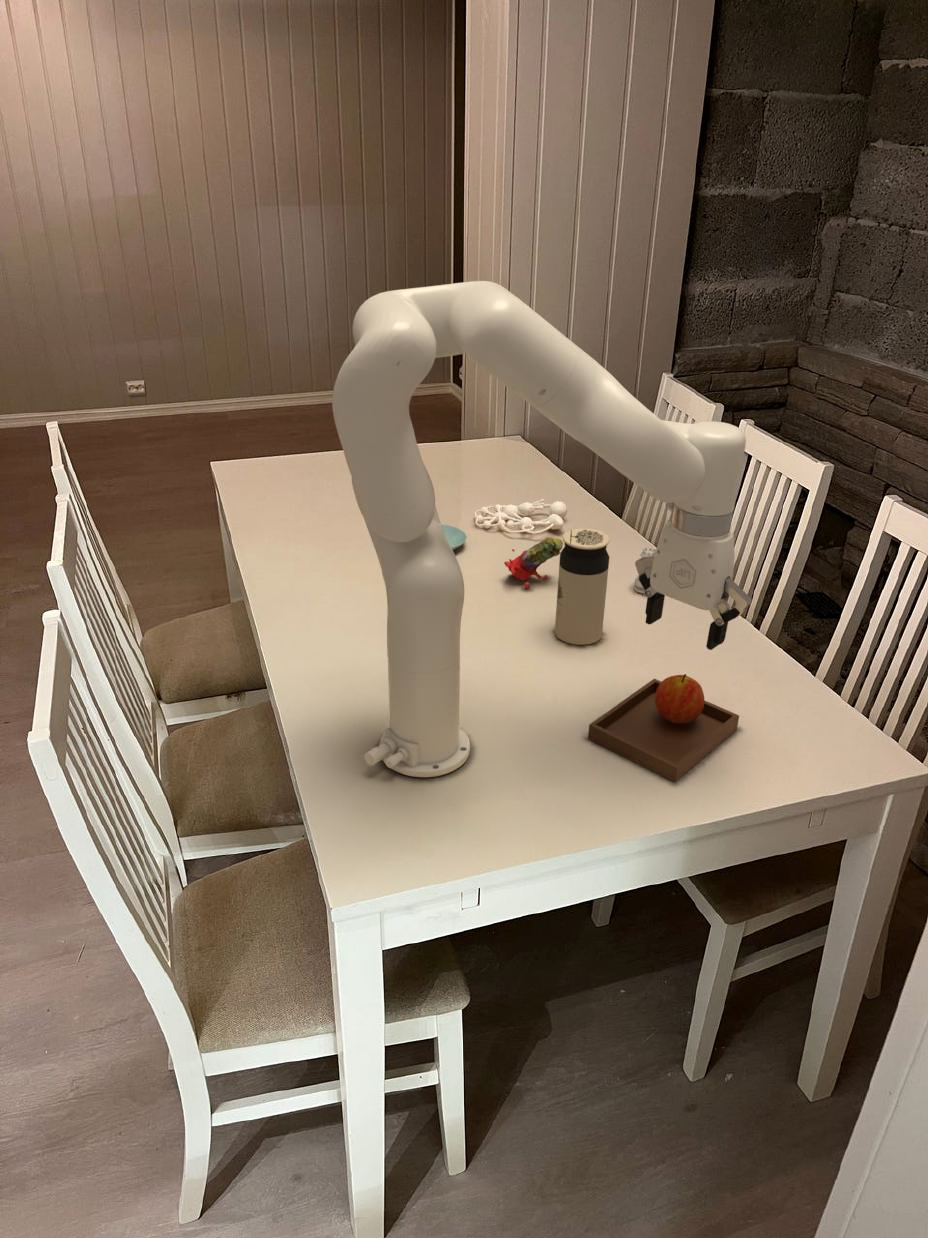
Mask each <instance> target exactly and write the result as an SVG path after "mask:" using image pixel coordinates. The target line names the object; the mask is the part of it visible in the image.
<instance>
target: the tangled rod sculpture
mask: <svg viewBox="0 0 928 1238" xmlns="http://www.w3.org/2000/svg"><path fill="white" fill-rule="evenodd" d="M544 501H545V500H544V498H541V499H539V500H537V501H534V502H528V501H526V502H523V503H520V504H519V505H515V504H507V505H506V504H505V505H504V504H499V503H497V504H495V505H489V506H483V507H481V508H480V509H477V510H475V511H474V512H473V515H474V519H475V523H474V524H475V525H476V526H478V527H483V528H484V529H486V530H489V529H490V528H491V527H492V528H493V527H498V528H500V529H501V528H502V529H503V530H504V531H505V532H507V533H509V534H520V533H528V534H533V535H534V534H535V535H538V534H541V533H545V532H546V531H548V530H553V531H554V530H558V529H562V528H564V526H565V522H564V520H563V518H565V517H566V515H567V514H568V507H567V505H566V504H565V503H564V502H563V501H560V500H557V501H554V502H552V503H545V502H544ZM546 508H549V516H548V517H547V518H543V519H540V520H535V521H533V519H532V518H530V517H529V515H531V514H533V513H534V511H537V510H541V511H543V510H544V509H546ZM489 509H494V511H495V513H493V512H492V511H489ZM479 512H480V514H478V513H479ZM477 514H478V515H477ZM519 514H520V515H523V516H524V517H521V516H520V515H519ZM486 515H489V516H486ZM506 521H507V522H506ZM493 522H497V523H494V524H493ZM515 526H518V527H519V530H510V529H513V528H514V527H515ZM535 526H546V527H545V528H543V529H540V530H537V531H536V530H535V531H533V530H534V529H535ZM506 527H507V528H506Z"/></svg>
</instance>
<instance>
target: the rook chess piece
mask: <svg viewBox="0 0 928 1238" xmlns="http://www.w3.org/2000/svg"><path fill="white" fill-rule="evenodd" d="M655 553H656V548H653V549H652V547H649V548H647V547H645V548H644V549H642V551H641V552H640V554H639V556H640V557H641V558H644V557H650V556H655ZM649 569H650V573H651V571H652V567H649ZM632 588H633V590H634V591H635V592H636V593H638V594H640V595H645V594H644V591H645V589H644V588H643V586H642V584H641V583H640V581H639V574H637V576H636V577H635V579H634V583H633V586H632Z"/></svg>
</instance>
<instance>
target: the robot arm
mask: <svg viewBox="0 0 928 1238" xmlns="http://www.w3.org/2000/svg"><path fill="white" fill-rule="evenodd" d="M352 338H353V342H354V345H355V346H354V347H353V349H352V350H351V352H350V353H349V354H348V355H347V357H346V358H345V360H344V362H343V363H342V365H341V367H340V369H339V371H338V374H337V376H336V379H335V382H334V385H333V391H332V400H331V401H332V402H331V404H332V415H333V421H334V425H335V428H336V431H337V435H338V439H339V441H340V445H341V448H342V451H343V454H344V457H345V461H346V465H347V467H348V470H349V474H350V476H351V485H352V489H353V493H354V497H355V500H356V504H357V506H358V510H359V511H360V513H361V516H362V517H363V520H364V522H365V525H366V528H367V532H368V534H369V537H370V539H371V542H372V545H373V547H374V550H375V554H376V556H377V559H378V563H379V566H380V569H381V574H382V578H383V582H384V586H385V592H386V605H387V613H386V615H387V616H386V654H387V675H388V677H387V678H388V679H387V681H388V708H389V709H388V710H389V727H388V728H386V729H384V733H383V735H381V737H380V740H379V745H378V746H375V747H373V748H371V749H369V750H368V751H366V752H365V753H364V754H363V759H364V761H365V763H366V764H367V765H369V767H370V766H371V767H372V766H374V765H376V764H377V763H379V762H380V761H383V763H384V764H385V766H386V767H387V768H389V769H391V770H392V771H394V772H397V773H398V774H402V775H405V776H408V777H413V778H414V777H415V778H433V777H440V776H443V775H446V774H450V773H451V772H453V771H456V770H457V769H458V768H460V767H461V766H463V764H465V763H466V761H467V760H468V758H469V756H470V753H471V741H470V738H469V736H468V734H467V733H466V731H465V730H464V729H463V728H462V727H460V689H461V687H460V684H461V681H460V680H461V626H462V617H463V616H462V615H463V610H464V609H463V608H464V602H465V581H464V577H463V572H462V568H461V566H460V564H459V561H458V559H457V556H456V554H455V552H454V550H452V548H451V546H450V544H449V542H448V540H447V538H446V535H445V533H444V530H443V528H442V525H443V524H442V522H441V518H440V516H439V512H438V510H437V506H436V494H435V487H434V485H433V481H432V478H431V476H430V474H429V472H428V469H427V467H426V465H425V463H424V460H423V458H422V454H421V452H420V449H419V446H418V445H419V444H418V442H417V439H416V435H415V434H416V433H415V429H414V426H413V423H412V418H411V416H410V403H411V399H412V397H413V394H414V392H415V391H416V389H417V388H418V387H419V385H420V384H421V383H422V382H423V381H424V379H425V378H426V377H427V376H428V374H429V373H430V371H431V370H432V368H433V365H434V363H435V360H436V359H437V358H445V357H453V356H458V355H465V354H466V355H467V356H468V358H469V359H470V360H472V362H473V363H474V364H476V365H477V366H478V367H480V368H481V369H482V370H483V371H485V372H486V373H487V374H489V376H491V377H493V378H494V379H495V380H497V381H498V382H499V383H500V384H502V385H503V386H505V387H506V388H508V389H509V390H510V391H511V392H513V393H514V394H516V395H517V396H519V398H521V399H522V400H524V401H525V402H527V404H529V405H530V406H531V407H533V408H534V409H535V410H537V412H539V413H540V414H542V415H543V416H544V417H545V418H547V419H548V420H549V421H551V422H552V423H553V424H554V425H556V426H557V427H559V428H560V430H561V431H563V432H564V433H566V434H567V435H568V436H569V437H572V438H573V439H574V440H575V441H578V442H579V443H581V444H582V445H584V446H585V447H586V448H588V449H589V450H591V451H592V452H593V453H594V454H596V455H597V456H598V457H600V458H601V459H603V461H604V462H606V463H608V465H610V466H611V467H612V468H613V469H615V470H616V471H617V472H619V473H620V474H621V475H623V476H624V477H626V478H627V479H628V480H629V481H631V482H632V483H634V485H636V486H637V487H638V488H640V489H641V490H643V491H644V492H645V493H646V494H648V495H649V496H650V497H652V498H653V499H655V500H657V501H659V502H662V503H665V509H666V510H668V511H670V512H671V516H670V519H668V520H666V521H665V522H664V526H663V528H662V530H661V534H660V537H659V539H658V543H657V546H656V548H655V550H656V553H655V556H650V557H644V558H642V557H641V558H638V559H637V560H635V563H634V564H635V569H636V571H637V575H639V581H640V583H641V584H642V586H643V588H644V589H645V591H644V594H643V595H644V596H645V597H646V598H647V599H646V605H645V615H646V617H645V624H647V625H652V624H654V623H655V622H657V621H659V620H660V619H662V617H663V611H664V605H665V599H666V598H665V596H666V597H668V598H671V599H673V600H676V601H678V602H680V603H683V604H686V605H688V606H691V607H694V608H697V609H699V610H702V611H709V613H710V615H711V617H712V619H713V621H712V622H711V623H710V624H709V629H708V633H707V634H708V636H707V640H706V645H705V647H706V650H709V651H712V650H714V649H715V648H716V647H718V646H720V645H722V644H723V643H724V642H725V640H726V635H727V632H728V631H727V630H728V625H729V622H730V621H731V622H732V621H733V620H735V619H736V618H738V617H740V616H741V615H743V614H744V612H745V611H746V610H747V609H748V608H749V607H750V605H752V603H753V599H752V598H751V597H750V596H749V595H748V593H746V592H745V591H744V590H743V589H742V588H741V587H740V586H739V585H738V584H737V583H736V582H735V581H734V580H733V577H734V568H735V535H734V532H732V531H731V527H732V521H733V517H734V511H735V506H736V499H737V494H738V489H739V483H740V478H741V474H742V473H741V472H742V467H743V462H744V457H745V456H744V455H745V449H746V442H747V437H746V434H745V432H744V430H742V429H741V428H740V427H738V426H736V425H733V424H731V423H727V422H723V421H716V420H715V421H714V420H705V421H698V422H695V423H687V422H679V421H669V420H664V419H661V418H660V417H658V416H657V415H656V414H655V413H654V412H652V411H651V410H650V409H649V408H647V407H646V406H645V405H644V404H643V403H641V401H639V400H638V399H637V398H636V397H635V396H634V395H632V393H630V391H628V390H627V389H626V388H625V387H624V386H623V385H622V384H621V383H620V382H619V381H618V379H616V378H615V377H614V376H613V375H612V373H610V372H609V371H608V370H607V369H606V368H605V367H603V366H602V365H601V364H600V363H599V362H598V361H597V360H595V359H594V358H593V357H592V356H591V355H590V354H588V353H587V352H586V351H584V350H583V349H581V348H580V347H579V346H578V345H576V343H574V341H572V340H571V339H569V338H568V337H567V336H565V334H563V333H562V332H561V331H559V330H558V329H557V328H556V327H555V326H553V325H552V324H551V323H550V322H548V321H547V320H546V319H545V318H543V316H541V315H540V314H539V313H538V312H536V311H535V310H534V309H532V308H531V307H530V306H529V305H528V304H526V303H525V302H523V301H522V300H521V299H520V298H519V297H517V296H516V295H515V294H514V293H512V292H511V291H509V290H508V289H507V288H505V287H504V286H502V285H500V284H499V283H497V282H494V281H487V280H474V281H472V280H471V281H464V282H455V283H454V282H453V283H447V284H438V285H430V286H421V287H420V286H419V287H412V288H403V289H402V288H401V289H394V290H386V291H384V292H379V293H377V294H375V295H372V296H371V297H369V298H368V299H366V300H365V301H364V302H363V303H362V304H361V305H360V306H359V308H358V309H357V311H356V312H355V315H354V317H353V321H352ZM649 567H652V571H651V573H650V569H649ZM729 597H730V598H731V599H732V600H734V602H735V605H734V606H733V607H732V608H731V607H730V605H729V603H728V601H727V600H728V599H729Z"/></svg>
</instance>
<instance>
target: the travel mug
mask: <svg viewBox="0 0 928 1238" xmlns="http://www.w3.org/2000/svg"><path fill="white" fill-rule="evenodd" d="M610 541H611V539H610V537H609V536H608V535H607V534H606V533H605V532H603V531H601V530H597V529H593V528H584V527H583V528H573V529H570V530H567V531H565V533H564V534H563V535H562V542H563V544H564V546H563V547H562V549H561V550H560V554H559V562H558V578H557V595H556V607H555V609H556V610H555V623H554V634H555V636H556V637H557V638H558V639H559V640H561V641H563V642H565V643H568V644H571V645H577V646H578V645H579V646H581V645H582V646H583V645H584V646H585V645H590V644H594V643H597V642H599V641H600V640H601V639H602V637H603V629H604V618H605V610H606V609H605V608H606V598H607V587H608V576H609V567H610V566H609V565H610V554H609V552H608V551H607V546H608V545H609V544H610Z"/></svg>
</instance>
